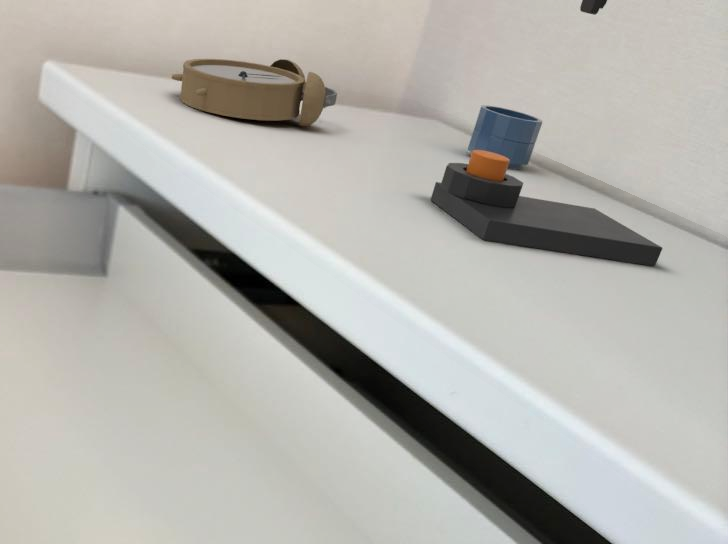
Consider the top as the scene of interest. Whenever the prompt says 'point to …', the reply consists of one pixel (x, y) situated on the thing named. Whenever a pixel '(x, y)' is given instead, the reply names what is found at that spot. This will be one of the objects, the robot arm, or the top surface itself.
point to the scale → (536, 219)
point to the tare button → (488, 165)
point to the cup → (505, 134)
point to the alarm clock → (254, 90)
